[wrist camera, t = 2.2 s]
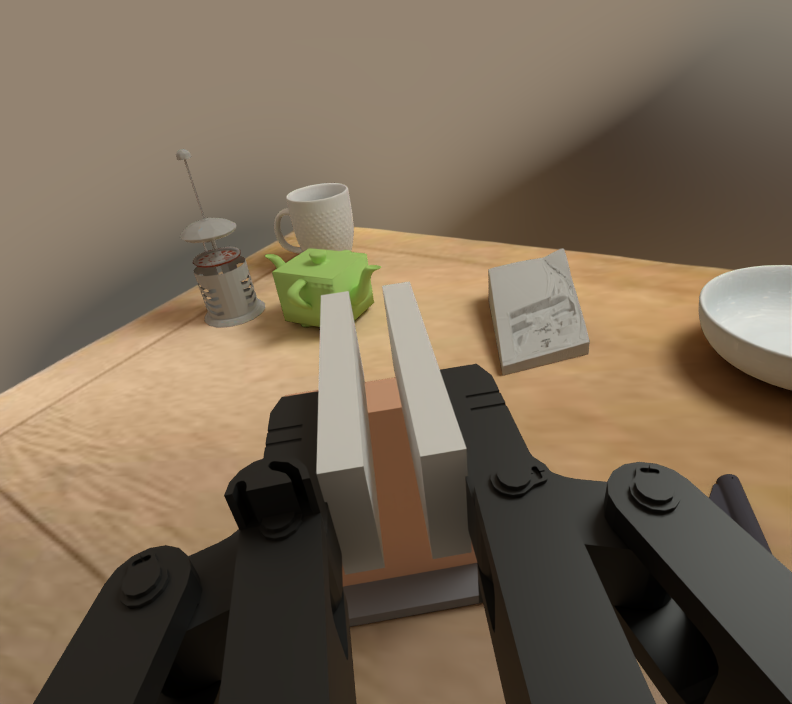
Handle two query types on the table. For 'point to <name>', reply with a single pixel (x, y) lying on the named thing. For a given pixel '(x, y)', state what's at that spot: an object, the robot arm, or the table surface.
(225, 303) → the french press
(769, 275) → the serving bowl
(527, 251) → the table surface
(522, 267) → the ramp
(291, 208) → the mug
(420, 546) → the tile
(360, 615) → the mat
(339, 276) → the teapot
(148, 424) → the table surface
